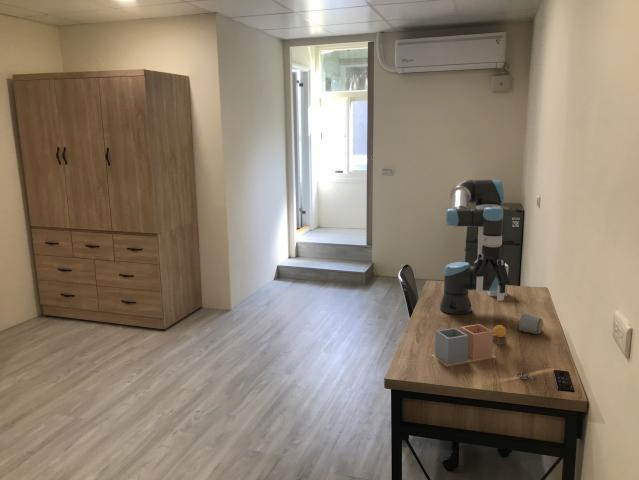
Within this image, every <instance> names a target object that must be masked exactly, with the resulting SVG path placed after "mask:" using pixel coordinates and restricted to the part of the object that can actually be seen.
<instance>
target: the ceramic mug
mask: <svg viewBox="0 0 639 480" xmlns="http://www.w3.org/2000/svg"><path fill="white" fill-rule="evenodd" d="M543 325H544V320H543V319H542V318H541V317H539V316H534V315H531V314H529V313H528V314H527V313H522V314H521V316H520V319H519V325H518V330H519V331H520V332H524V333H530V334H534V335H540V334H541V332H542V330H543Z"/></svg>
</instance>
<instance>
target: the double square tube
mask: <svg viewBox="0 0 639 480" xmlns="http://www.w3.org/2000/svg"><path fill="white" fill-rule="evenodd" d="M493 335H494V333H493V330H492V329H490V328H488V327H486V326H484V325H482V324H481V323H477V324H472V325H464V326H460V327H459V329H458V328H457V327H451V328H447V329H446V328H445V329H440V330H439V329H438V330H435V335H434V336H435V339H434V340H435V342H434V343H435V345H434V347H435V348H434V354H430V356H431V357H433V358H434V359H436V360H437V361H439V363H441V364H443V365H444V366H445V367H451V366H456V365H462V364H466V363H473V362H479V361H483V360H489V359H495V358H497V356H496V355H494V354H493V346H494V345H493V343H494V342H493Z"/></svg>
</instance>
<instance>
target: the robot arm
mask: <svg viewBox="0 0 639 480" xmlns="http://www.w3.org/2000/svg"><path fill="white" fill-rule="evenodd" d="M449 198H450V201H451V208H448V209H447V210H446V225H447V226H448V227H454V228H457V227H459V228H460V227H466V228H468V227H473V228H478V230H477V231H478V232H477V259H476V260H475V261H473V265H470V262H467V261H465V262H464V261H456V262H455V261H454V262H451V263H448V264H446V266H445V267H444V273H443V275H444V280H443V281H444V282H443V295H442V297H441V300H440V302H439V310H440V311H441V312H443V313H446V314H451V315H466V314H469V313H470V314H471V312H472V308H473V307H472V303H471V300H470V296H469V291H476V293H481V292H486V291H497V290H498V291H497V296H496V301H497V302H499V301H501V302H502V301H504V300H505V296H504V293H505V285H507V284H508V285H510V279H509V274H508V275H507V271H506V267H505V263H506V260H505V259H500V256H502V249H503V247H502V245H503V226H504V223H503V222H504V208H502V205H504V204H505V192H504V186H503V182H502V181H501V180H497V179H467V180H462V181H461V182H458V183H457V184H456V185H454V187H453V188H452V189H451V191H450V195H449ZM470 204H474V205H475V208H470ZM501 281H502V282H501Z"/></svg>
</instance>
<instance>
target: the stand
mask: <svg viewBox="0 0 639 480" xmlns="http://www.w3.org/2000/svg"><path fill="white" fill-rule="evenodd" d="M506 341H507V337H506V336H503V337H500V338H499V337H496V336H495V335H494V334H493V343H494V344H496V345H498V346H499V345H504V344H506Z"/></svg>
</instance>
